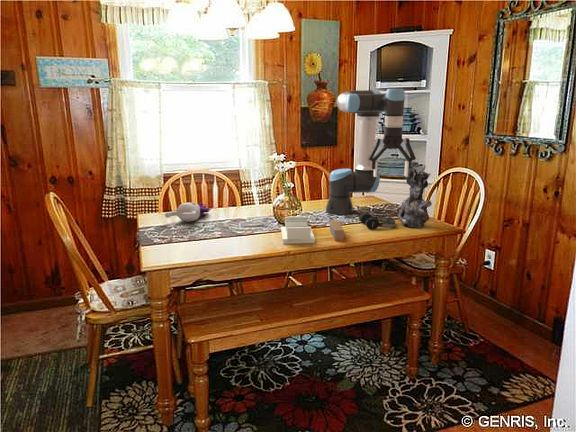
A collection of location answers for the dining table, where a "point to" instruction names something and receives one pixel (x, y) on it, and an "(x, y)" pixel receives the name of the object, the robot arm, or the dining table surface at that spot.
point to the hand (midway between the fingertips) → (390, 176)
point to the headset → (376, 221)
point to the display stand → (297, 231)
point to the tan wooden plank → (336, 230)
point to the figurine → (189, 212)
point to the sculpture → (415, 200)
